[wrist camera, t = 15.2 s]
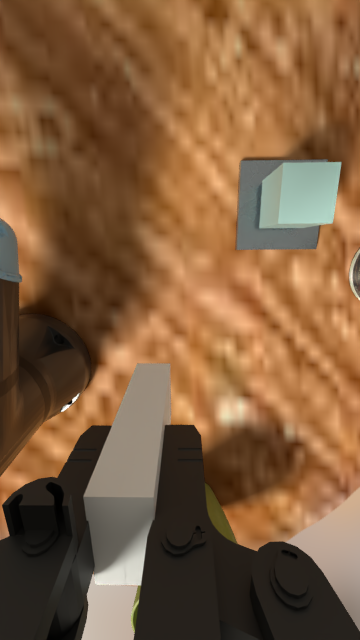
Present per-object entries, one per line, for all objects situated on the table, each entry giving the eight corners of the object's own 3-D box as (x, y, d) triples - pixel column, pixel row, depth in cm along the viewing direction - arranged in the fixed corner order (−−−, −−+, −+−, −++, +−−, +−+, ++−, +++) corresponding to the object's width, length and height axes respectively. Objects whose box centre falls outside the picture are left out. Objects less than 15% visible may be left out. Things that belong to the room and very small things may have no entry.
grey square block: (235, 249, 34) (249, 250, 26) (239, 162, 31) (257, 136, 24) (313, 248, 34) (350, 249, 26) (324, 161, 31) (369, 134, 23)
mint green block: (259, 228, 31) (278, 223, 25) (262, 180, 30) (283, 162, 24) (302, 227, 31) (332, 223, 25) (308, 180, 30) (341, 161, 23)
